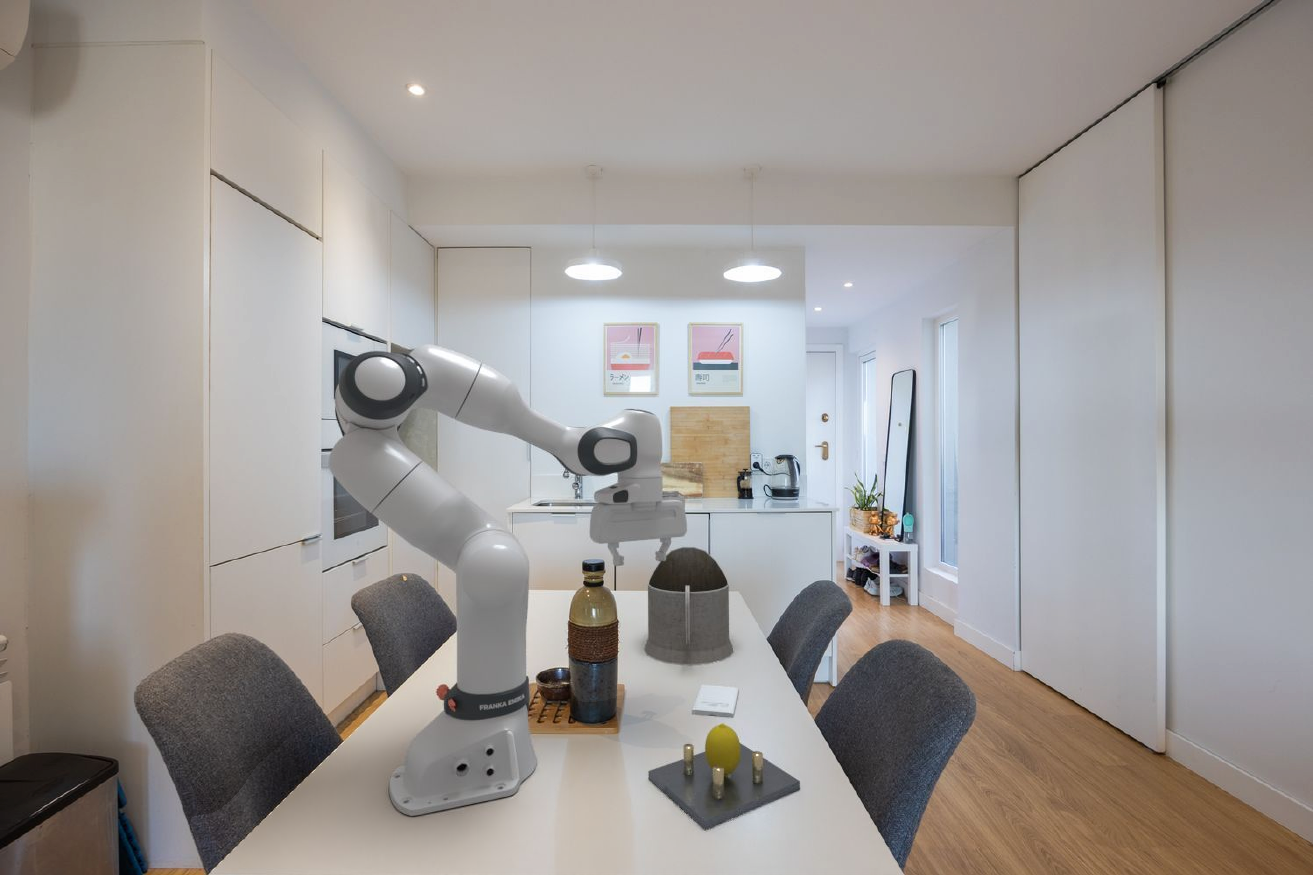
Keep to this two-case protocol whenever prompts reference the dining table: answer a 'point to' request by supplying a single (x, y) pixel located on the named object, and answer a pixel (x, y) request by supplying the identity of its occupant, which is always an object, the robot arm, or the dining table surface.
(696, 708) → the external hard drive
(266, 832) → the dining table surface
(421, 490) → the robot arm
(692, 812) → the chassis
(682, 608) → the pitcher
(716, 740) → the lemon
